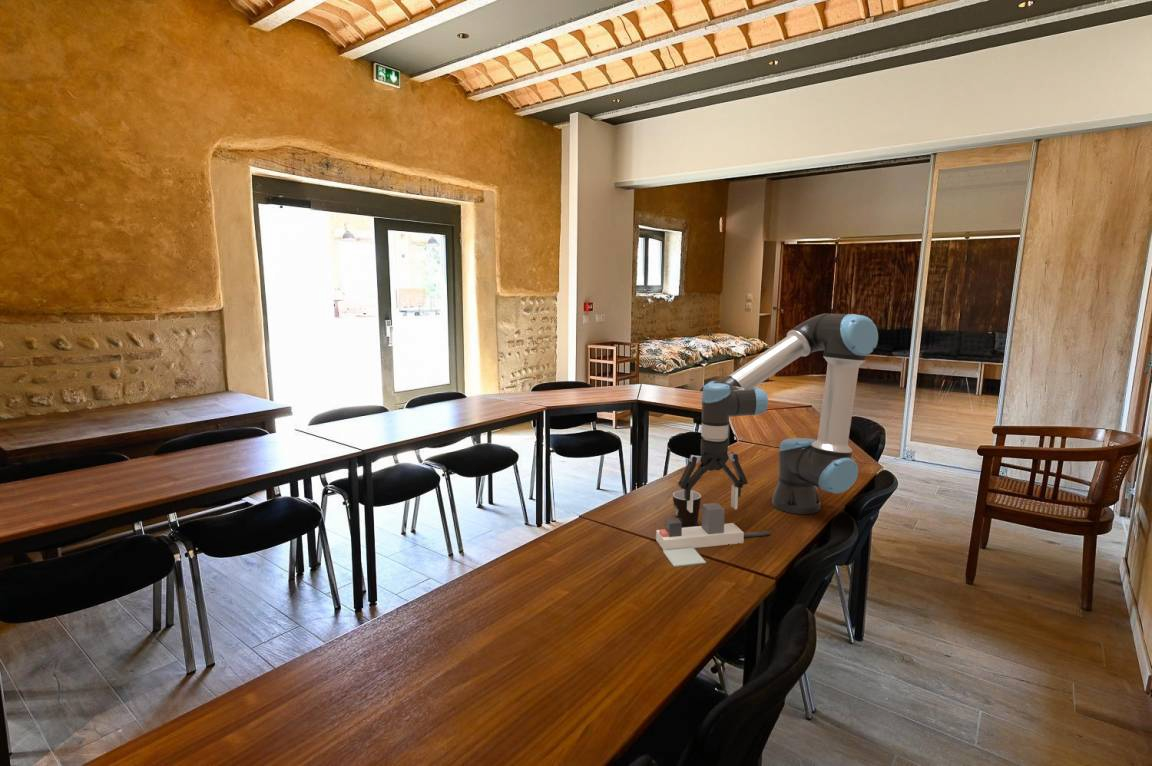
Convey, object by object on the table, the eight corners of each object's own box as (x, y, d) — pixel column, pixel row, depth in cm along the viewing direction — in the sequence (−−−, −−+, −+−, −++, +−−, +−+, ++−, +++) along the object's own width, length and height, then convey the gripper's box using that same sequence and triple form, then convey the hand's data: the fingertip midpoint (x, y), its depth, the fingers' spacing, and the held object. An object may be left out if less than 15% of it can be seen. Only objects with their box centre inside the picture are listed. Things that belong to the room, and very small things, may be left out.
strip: (763, 530, 172) (764, 507, 171) (775, 539, 165) (776, 516, 164) (656, 540, 166) (656, 517, 165) (664, 551, 159) (664, 526, 158)
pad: (693, 548, 160) (693, 547, 160) (705, 563, 152) (705, 562, 152) (662, 552, 159) (662, 550, 159) (673, 567, 150) (673, 565, 150)
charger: (716, 536, 168) (717, 502, 167) (723, 543, 164) (724, 508, 162) (701, 537, 167) (702, 504, 166) (708, 544, 163) (708, 510, 161)
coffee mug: (700, 532, 171) (701, 500, 170) (672, 530, 173) (672, 499, 171) (700, 517, 182) (700, 487, 181) (673, 515, 184) (673, 486, 183)
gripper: (749, 432, 166) (746, 501, 170) (668, 436, 162) (666, 507, 165) (761, 439, 159) (758, 511, 162) (677, 443, 155) (675, 517, 158)
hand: (712, 509), depth 164 cm, fingers open, 13 cm apart
